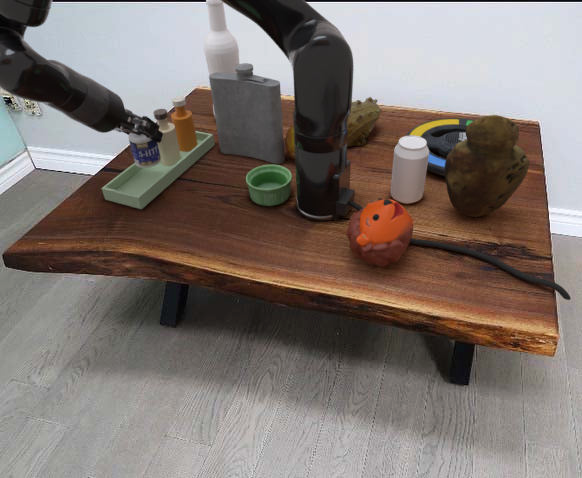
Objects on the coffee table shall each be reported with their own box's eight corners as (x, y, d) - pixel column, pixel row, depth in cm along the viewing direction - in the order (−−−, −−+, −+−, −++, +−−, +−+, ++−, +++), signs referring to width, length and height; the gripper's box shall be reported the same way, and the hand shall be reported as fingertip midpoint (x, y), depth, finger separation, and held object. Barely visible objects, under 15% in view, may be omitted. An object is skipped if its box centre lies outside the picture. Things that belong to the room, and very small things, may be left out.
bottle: (246, 109, 131) (232, -17, 112) (246, 124, 125) (231, -7, 105) (215, 112, 131) (196, -14, 112) (213, 126, 124) (192, -5, 105)
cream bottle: (185, 157, 112) (175, 108, 104) (173, 167, 109) (162, 118, 101) (168, 153, 113) (157, 105, 106) (156, 163, 110) (144, 114, 103)
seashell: (385, 131, 121) (388, 89, 115) (365, 154, 110) (367, 109, 105) (342, 124, 125) (343, 84, 120) (318, 146, 114) (319, 102, 109)
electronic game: (411, 125, 120) (413, 106, 117) (514, 137, 113) (519, 117, 110) (394, 176, 103) (396, 155, 100) (513, 192, 97) (519, 171, 94)
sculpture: (434, 222, 91) (451, 120, 78) (440, 196, 97) (457, 98, 84) (512, 235, 87) (544, 130, 75) (513, 207, 93) (543, 106, 81)
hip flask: (217, 152, 114) (204, 65, 102) (226, 144, 117) (214, 58, 104) (281, 165, 109) (274, 74, 96) (288, 156, 112) (283, 66, 99)
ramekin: (273, 213, 95) (272, 194, 93) (238, 198, 100) (235, 180, 97) (301, 191, 101) (301, 172, 98) (267, 178, 105) (265, 159, 102)
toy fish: (406, 282, 80) (414, 226, 72) (340, 273, 82) (342, 217, 75) (411, 235, 88) (419, 181, 81) (352, 228, 91) (354, 174, 84)
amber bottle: (201, 143, 116) (193, 96, 109) (190, 153, 113) (181, 104, 106) (185, 140, 118) (175, 93, 110) (173, 149, 115) (163, 101, 107)
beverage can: (427, 193, 98) (435, 138, 90) (414, 210, 94) (422, 153, 87) (398, 184, 101) (403, 130, 93) (384, 200, 97) (389, 145, 89)
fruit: (304, 142, 116) (303, 110, 111) (336, 154, 111) (337, 120, 106) (277, 160, 110) (275, 127, 105) (310, 173, 106) (309, 139, 101)
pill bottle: (142, 171, 101) (131, 131, 96) (131, 161, 104) (120, 122, 99) (165, 162, 104) (156, 122, 98) (154, 152, 107) (144, 114, 101)
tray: (214, 145, 117) (213, 134, 115) (141, 209, 98) (138, 197, 97) (182, 138, 120) (180, 127, 119) (105, 199, 102) (101, 188, 100)
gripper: (129, 88, 84) (183, 123, 100) (64, 77, 89) (125, 112, 105) (116, 131, 84) (172, 159, 99) (52, 117, 89) (115, 147, 104)
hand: (148, 135), depth 102 cm, fingers closed on pill bottle, 5 cm apart
